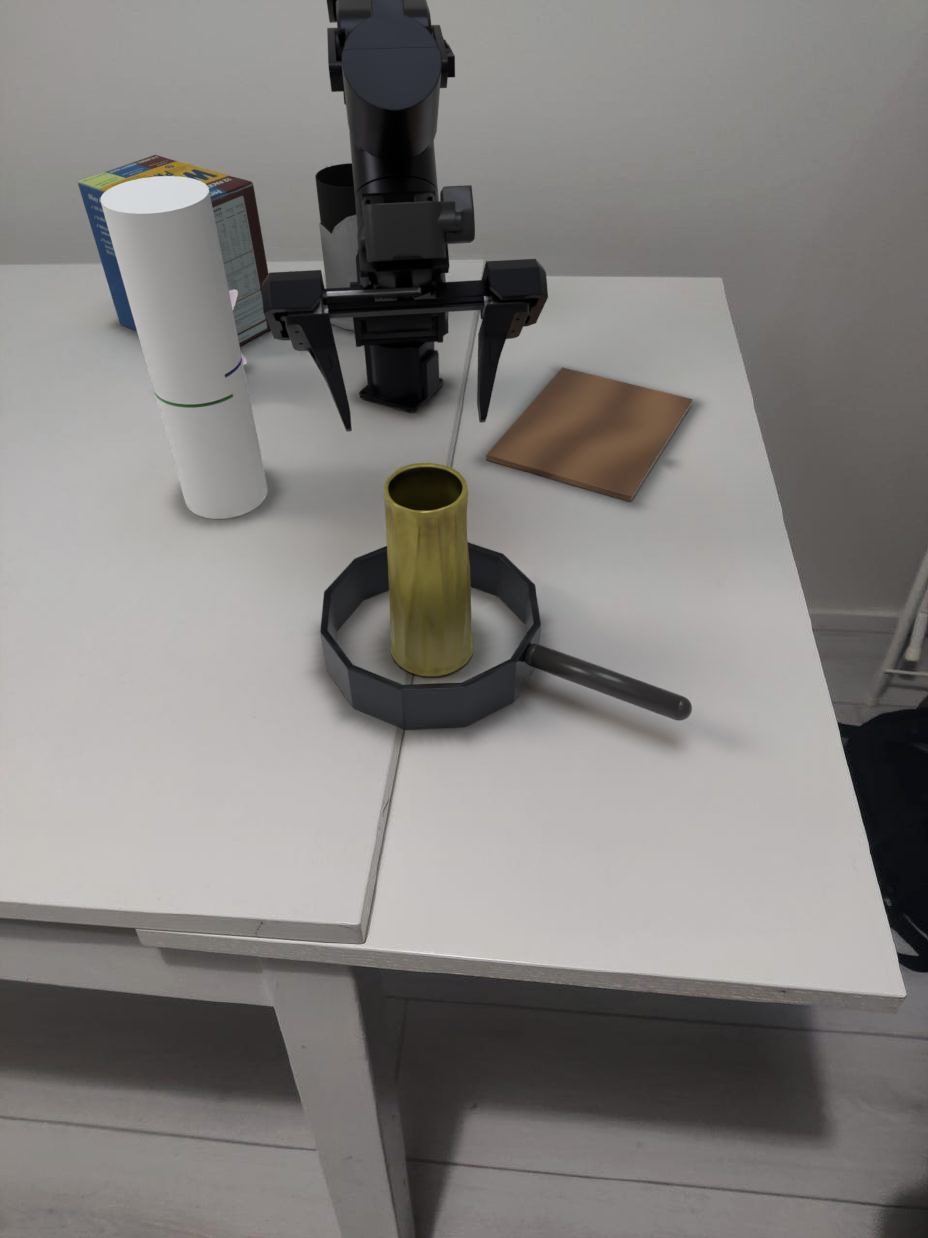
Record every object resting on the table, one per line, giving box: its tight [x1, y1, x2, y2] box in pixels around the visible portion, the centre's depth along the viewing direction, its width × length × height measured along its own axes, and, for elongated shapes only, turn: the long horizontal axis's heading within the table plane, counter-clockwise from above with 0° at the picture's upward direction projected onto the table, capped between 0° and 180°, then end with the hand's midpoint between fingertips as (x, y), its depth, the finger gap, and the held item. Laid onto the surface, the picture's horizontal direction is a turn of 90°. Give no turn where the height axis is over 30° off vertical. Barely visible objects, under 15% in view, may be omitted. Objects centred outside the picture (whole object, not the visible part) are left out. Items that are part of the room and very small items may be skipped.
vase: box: [383, 462, 475, 677], centre depth 58 cm, size 6×6×14 cm
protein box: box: [76, 154, 270, 346], centre depth 94 cm, size 10×15×16 cm
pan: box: [319, 541, 693, 730], centre depth 60 cm, size 26×15×4 cm, turn 63°
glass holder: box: [314, 162, 358, 331], centre depth 98 cm, size 9×14×15 cm, turn 24°
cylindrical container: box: [100, 176, 269, 520], centre depth 68 cm, size 7×7×25 cm
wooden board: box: [485, 367, 694, 502], centre depth 83 cm, size 14×18×1 cm
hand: (416, 425), depth 60 cm, fingers open, 9 cm apart
